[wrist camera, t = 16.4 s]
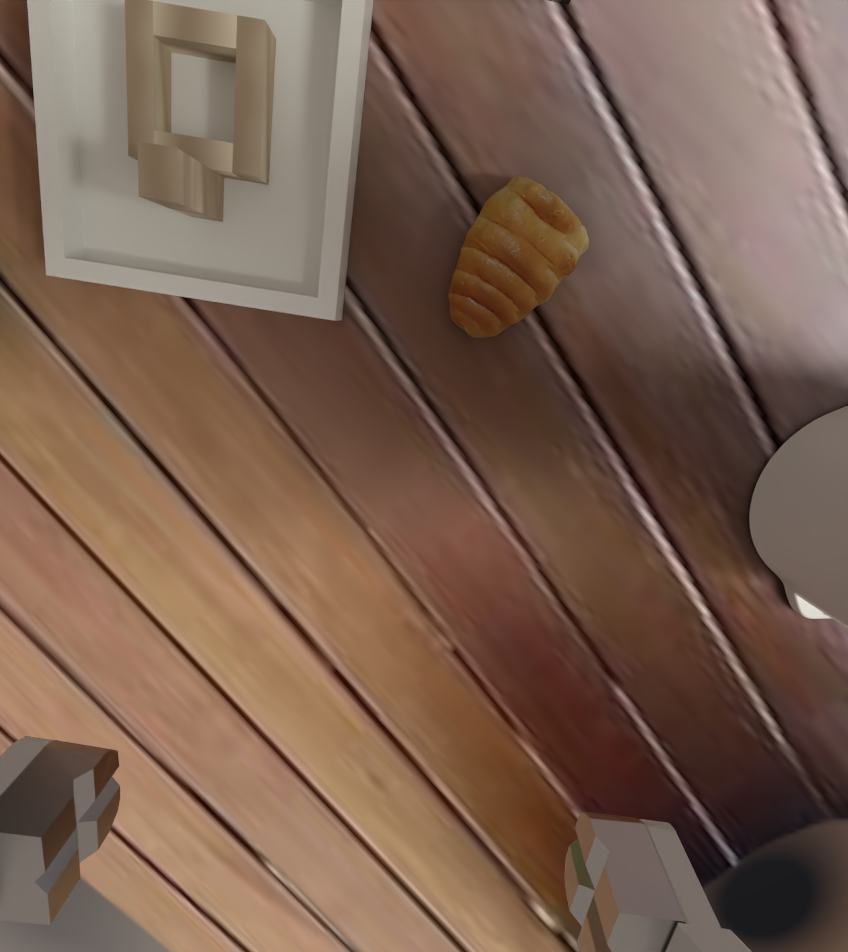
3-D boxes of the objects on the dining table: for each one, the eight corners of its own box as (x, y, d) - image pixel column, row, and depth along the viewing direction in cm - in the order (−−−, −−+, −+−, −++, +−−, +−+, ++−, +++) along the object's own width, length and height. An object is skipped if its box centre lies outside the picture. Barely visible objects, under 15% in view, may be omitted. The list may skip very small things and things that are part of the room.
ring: (276, 39, 29) (237, -28, 24) (266, 229, 32) (229, 210, 27) (144, 16, 29) (73, -56, 23) (147, 209, 32) (85, 187, 26)
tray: (374, -8, 29) (368, -37, 27) (342, 320, 34) (335, 320, 32) (54, -64, 29) (20, -98, 26) (73, 277, 34) (46, 275, 32)
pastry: (500, 359, 35) (507, 364, 32) (420, 298, 34) (418, 296, 31) (592, 238, 33) (611, 228, 29) (509, 168, 32) (518, 149, 28)
